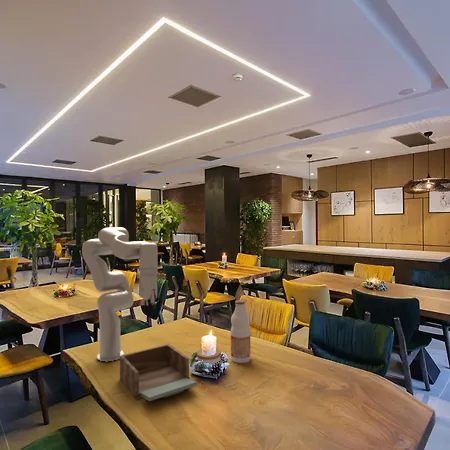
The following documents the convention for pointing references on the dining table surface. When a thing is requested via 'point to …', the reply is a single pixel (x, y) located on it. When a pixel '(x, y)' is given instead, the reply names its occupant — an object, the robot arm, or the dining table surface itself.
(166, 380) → the crate
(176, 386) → the panel
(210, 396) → the dining table surface
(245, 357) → the fruit juice
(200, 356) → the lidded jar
